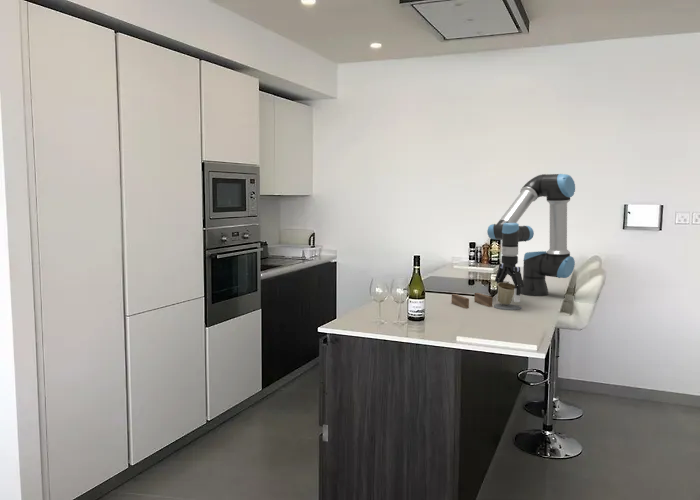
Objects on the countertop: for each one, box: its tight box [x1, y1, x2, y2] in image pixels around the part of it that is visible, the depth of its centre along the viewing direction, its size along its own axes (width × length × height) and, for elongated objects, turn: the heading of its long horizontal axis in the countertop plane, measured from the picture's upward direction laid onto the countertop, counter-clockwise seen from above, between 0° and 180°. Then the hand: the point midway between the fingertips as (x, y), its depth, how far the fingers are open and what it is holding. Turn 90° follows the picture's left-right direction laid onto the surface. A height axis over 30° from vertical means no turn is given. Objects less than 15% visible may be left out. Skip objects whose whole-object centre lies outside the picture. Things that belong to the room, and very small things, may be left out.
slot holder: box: [451, 292, 493, 309], centre depth 290 cm, size 15×13×4 cm
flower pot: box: [496, 281, 515, 305], centre depth 287 cm, size 9×9×9 cm
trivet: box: [493, 303, 523, 311], centre depth 284 cm, size 13×13×1 cm
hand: (508, 299), depth 284 cm, fingers open, 13 cm apart
